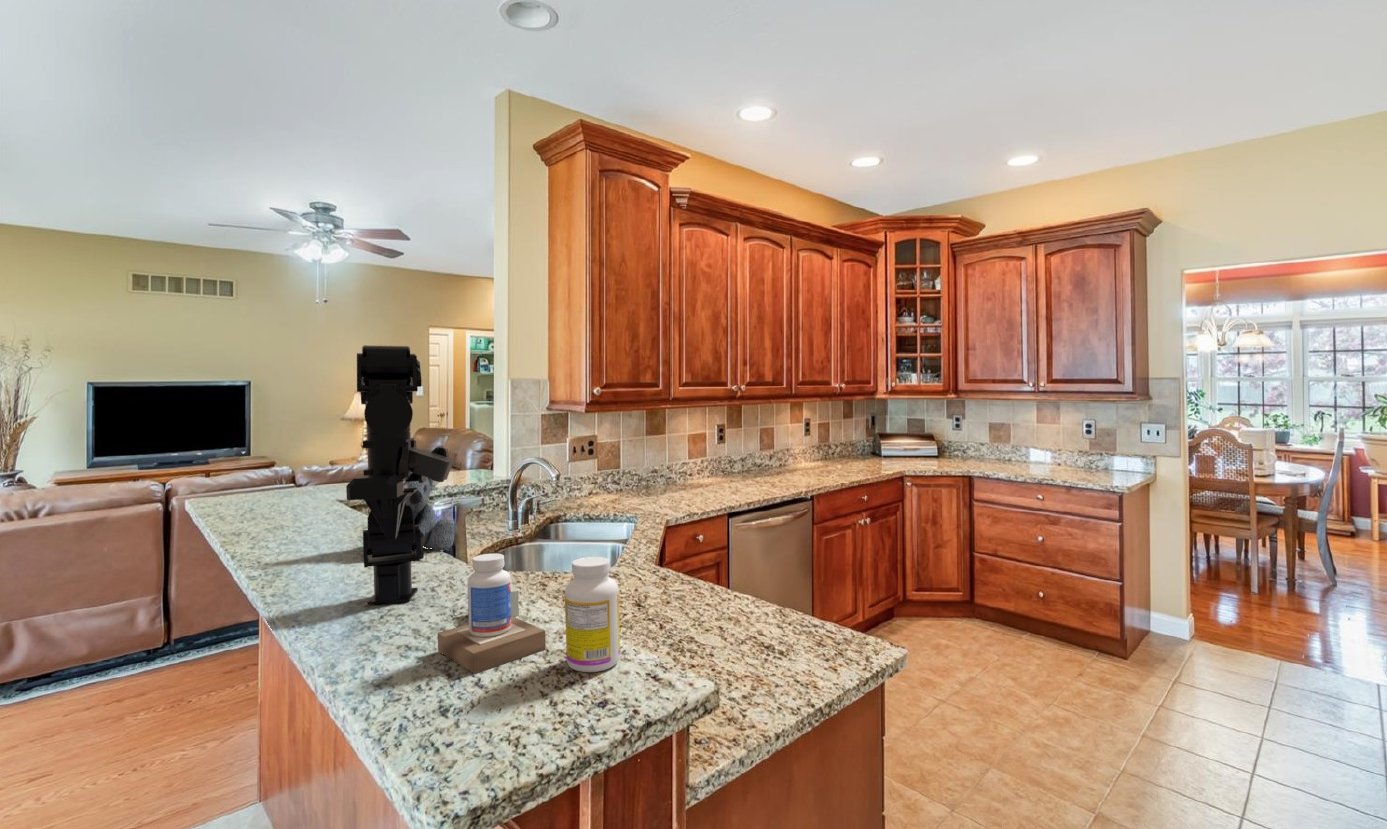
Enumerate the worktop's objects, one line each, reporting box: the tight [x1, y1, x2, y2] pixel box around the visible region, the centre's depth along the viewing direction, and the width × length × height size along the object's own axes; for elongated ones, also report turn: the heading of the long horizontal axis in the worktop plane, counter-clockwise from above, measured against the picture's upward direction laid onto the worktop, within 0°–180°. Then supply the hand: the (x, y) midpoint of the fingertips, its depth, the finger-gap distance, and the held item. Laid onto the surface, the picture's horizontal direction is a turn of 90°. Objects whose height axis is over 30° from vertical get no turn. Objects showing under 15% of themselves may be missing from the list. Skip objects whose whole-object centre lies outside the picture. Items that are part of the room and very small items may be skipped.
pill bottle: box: [467, 553, 512, 637], centre depth 84 cm, size 6×5×10 cm
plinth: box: [437, 616, 547, 674], centre depth 84 cm, size 10×10×3 cm
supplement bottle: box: [564, 556, 621, 673], centre depth 79 cm, size 7×7×13 cm
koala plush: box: [404, 477, 456, 551], centre depth 143 cm, size 17×18×20 cm
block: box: [510, 582, 520, 617], centre depth 98 cm, size 5×5×4 cm
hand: (392, 539), depth 92 cm, fingers closed
